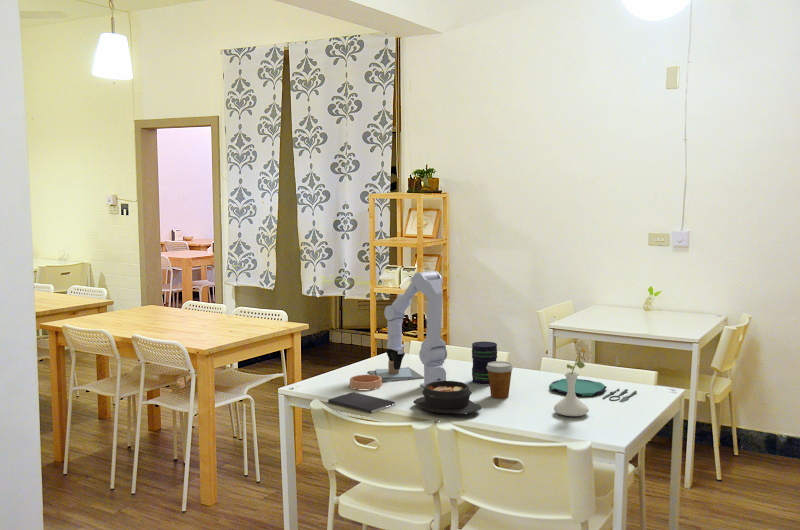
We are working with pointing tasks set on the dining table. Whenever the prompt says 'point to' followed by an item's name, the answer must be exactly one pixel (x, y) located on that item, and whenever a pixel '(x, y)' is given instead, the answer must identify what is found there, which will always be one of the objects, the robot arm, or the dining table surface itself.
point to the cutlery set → (586, 388)
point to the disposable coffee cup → (499, 378)
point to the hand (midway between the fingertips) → (395, 368)
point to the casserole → (447, 398)
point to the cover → (393, 372)
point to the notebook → (361, 402)
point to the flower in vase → (571, 402)
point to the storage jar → (482, 361)
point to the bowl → (365, 382)
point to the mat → (414, 376)
